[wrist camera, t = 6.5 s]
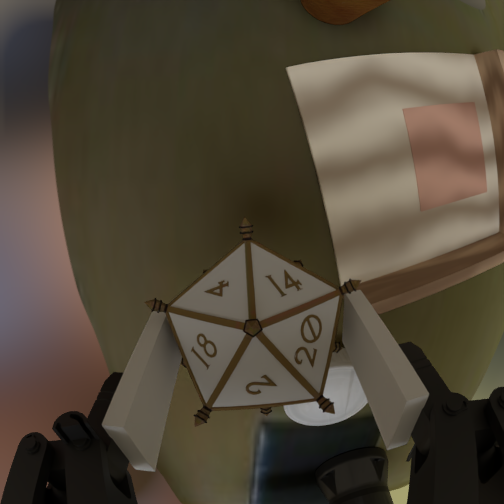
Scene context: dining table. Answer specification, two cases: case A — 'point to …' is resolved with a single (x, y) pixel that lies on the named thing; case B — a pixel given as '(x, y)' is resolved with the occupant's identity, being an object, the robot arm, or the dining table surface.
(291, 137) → the dining table surface
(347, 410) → the ramekin
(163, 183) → the dining table surface
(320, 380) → the game die
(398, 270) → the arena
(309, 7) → the disposable coffee cup
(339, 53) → the dining table surface
